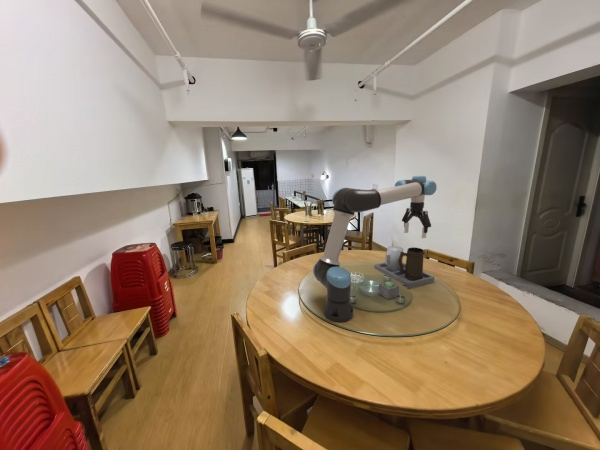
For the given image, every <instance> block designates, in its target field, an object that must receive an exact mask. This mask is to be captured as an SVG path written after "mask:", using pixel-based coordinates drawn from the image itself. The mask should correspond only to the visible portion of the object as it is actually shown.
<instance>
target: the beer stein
mask: <svg viewBox="0 0 600 450" xmlns="http://www.w3.org/2000/svg"><path fill="white" fill-rule="evenodd" d="M424 256H425V250H424V249H423V248H420V247H409V248H407V250H406V252H404V251H403V252H400V256H399V259H398V263H399V266H400V273H405V278H407V279H408V280H411V281H416V280H420V279H423V272H424ZM402 257H403V258H404V257H405V258H406V259H405V264H406V268H405V270H404V269H403V266H402Z"/></svg>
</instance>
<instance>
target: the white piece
mask: <svg viewBox="0 0 600 450" xmlns="http://www.w3.org/2000/svg"><path fill="white" fill-rule="evenodd" d="M386 251H387V254H385V257H384V258H385V261H384V263H385V264H386V269H387V270H388V271H390V272H395V271H400V266H399V263H398V259H399V256H400V252H404V248H403V247H402V246H397V245H390V246H388V247H387V249H386ZM403 259H404V256H403V257H402V262H403V263H404V261H403Z"/></svg>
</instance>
